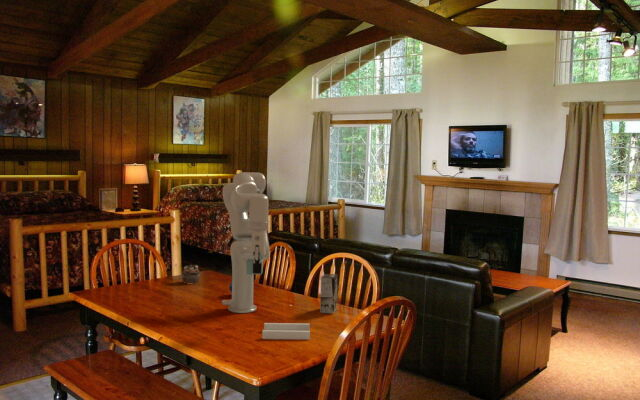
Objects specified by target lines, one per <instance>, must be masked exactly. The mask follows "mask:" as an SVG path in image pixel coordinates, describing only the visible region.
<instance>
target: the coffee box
mask: <svg viewBox="0 0 640 400" xmlns="http://www.w3.org/2000/svg"><path fill="white" fill-rule="evenodd" d="M338 277H339V274H336V273H329V274H328V273H323V275H321V277H320V301H319V303H320V304H319V307H320V308H319V309H320V310H319V313H321V314H333V315H334V313H335V312H336V310H337V309H338Z"/></svg>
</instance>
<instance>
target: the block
mask: <svg viewBox="0 0 640 400" xmlns="http://www.w3.org/2000/svg"><path fill="white" fill-rule="evenodd" d="M263 262H264V260H263V259H261V273H253V263H254V259H248V260H247V263H246V274H254V275H262V274H263V272H264V271H263V268H264V266H263V265H264V263H263Z"/></svg>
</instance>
